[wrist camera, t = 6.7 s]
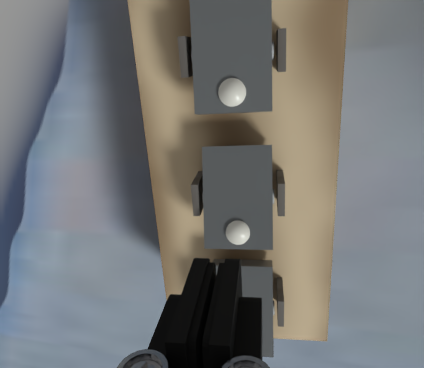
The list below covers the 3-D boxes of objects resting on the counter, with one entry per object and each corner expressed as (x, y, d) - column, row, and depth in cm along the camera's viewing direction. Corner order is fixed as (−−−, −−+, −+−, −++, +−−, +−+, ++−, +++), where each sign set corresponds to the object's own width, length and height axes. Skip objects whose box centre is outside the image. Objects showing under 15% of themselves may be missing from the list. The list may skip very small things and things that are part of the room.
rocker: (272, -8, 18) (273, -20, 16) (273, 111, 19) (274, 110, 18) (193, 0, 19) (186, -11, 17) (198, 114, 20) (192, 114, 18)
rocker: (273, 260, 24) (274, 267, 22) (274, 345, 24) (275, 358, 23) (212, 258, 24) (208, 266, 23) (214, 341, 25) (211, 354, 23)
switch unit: (325, -20, 25) (364, -66, 15) (313, 277, 34) (333, 370, 24) (157, -4, 27) (96, -36, 17) (186, 273, 35) (156, 358, 26)
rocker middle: (273, 145, 21) (273, 144, 20) (274, 243, 22) (274, 250, 20) (204, 147, 22) (199, 146, 20) (206, 242, 22) (202, 249, 21)
